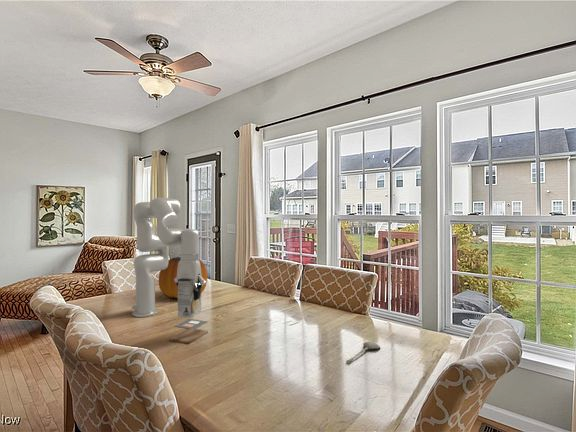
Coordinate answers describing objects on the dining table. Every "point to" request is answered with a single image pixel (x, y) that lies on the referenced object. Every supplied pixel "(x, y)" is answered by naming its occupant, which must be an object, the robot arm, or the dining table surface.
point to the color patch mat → (191, 323)
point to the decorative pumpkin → (170, 274)
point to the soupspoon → (367, 346)
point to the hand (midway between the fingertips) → (189, 298)
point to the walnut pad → (188, 335)
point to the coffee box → (187, 299)
